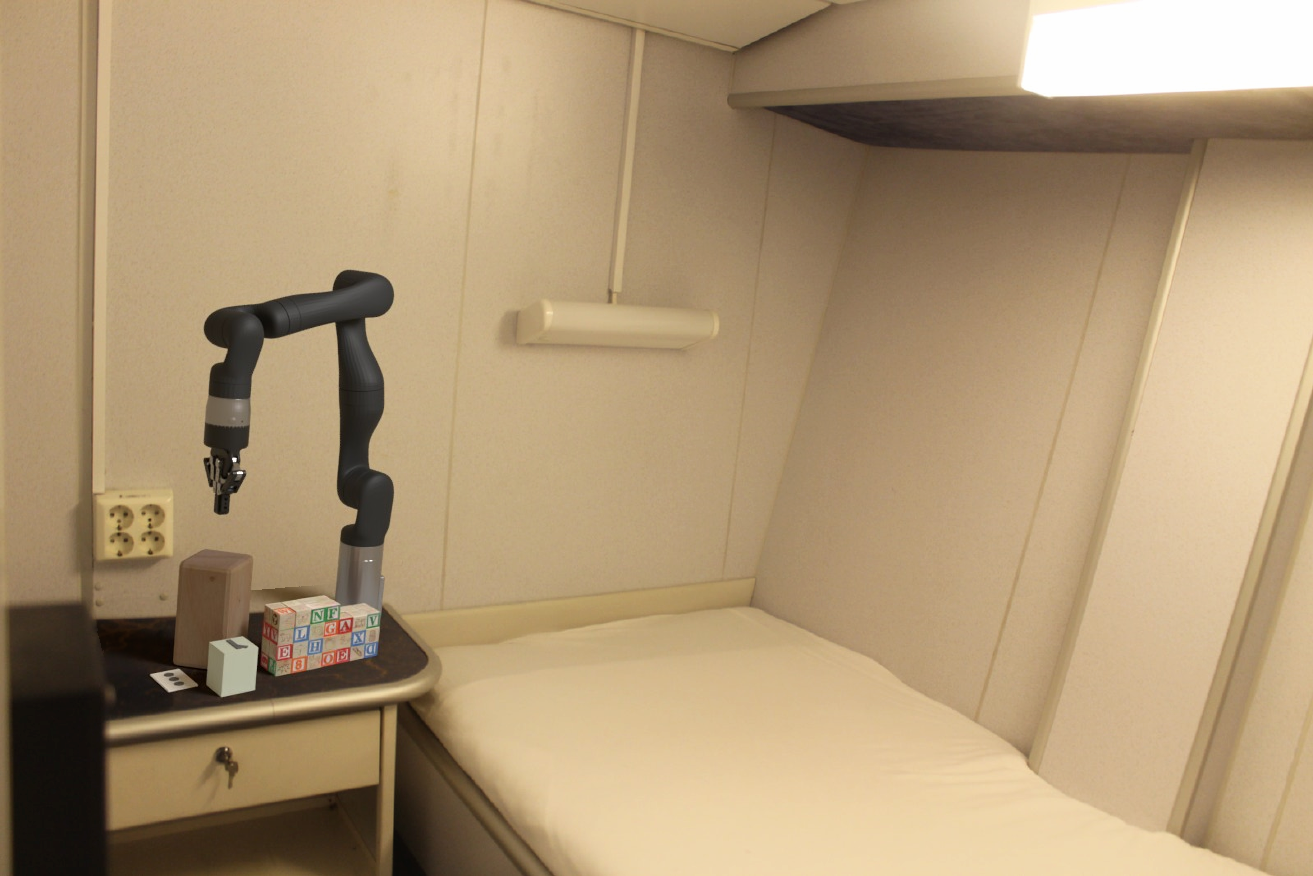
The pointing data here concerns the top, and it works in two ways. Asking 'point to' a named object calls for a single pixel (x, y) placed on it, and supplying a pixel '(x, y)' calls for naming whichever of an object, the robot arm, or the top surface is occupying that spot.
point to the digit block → (232, 666)
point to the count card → (173, 680)
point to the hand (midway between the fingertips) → (221, 513)
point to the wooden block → (211, 603)
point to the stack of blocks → (316, 634)
